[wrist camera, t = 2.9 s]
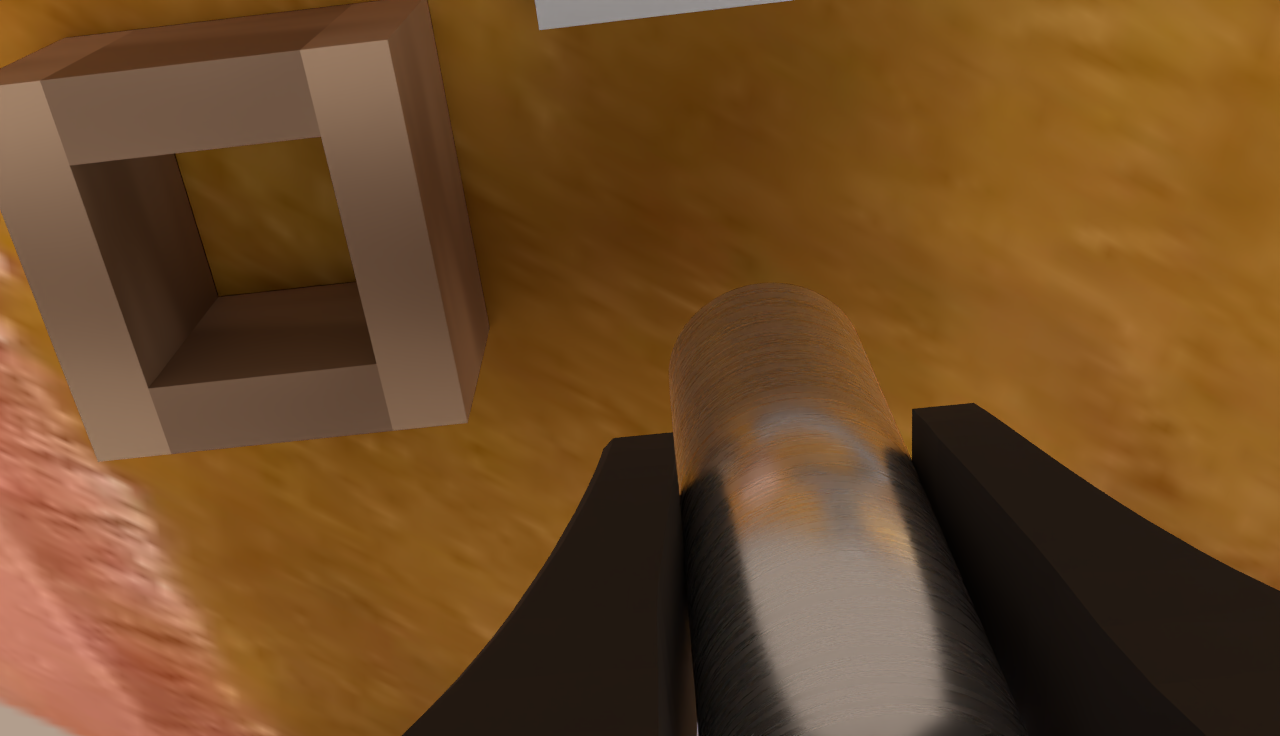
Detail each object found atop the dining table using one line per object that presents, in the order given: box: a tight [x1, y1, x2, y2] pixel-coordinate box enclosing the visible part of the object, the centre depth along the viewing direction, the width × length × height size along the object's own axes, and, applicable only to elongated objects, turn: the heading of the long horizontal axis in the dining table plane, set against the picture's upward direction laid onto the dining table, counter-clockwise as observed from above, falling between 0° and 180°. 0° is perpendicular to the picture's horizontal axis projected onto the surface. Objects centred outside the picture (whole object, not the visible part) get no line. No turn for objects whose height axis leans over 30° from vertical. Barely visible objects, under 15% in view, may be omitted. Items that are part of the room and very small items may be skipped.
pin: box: [669, 283, 1029, 736], centre depth 11 cm, size 2×2×7 cm
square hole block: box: [0, 0, 489, 462], centre depth 18 cm, size 6×6×4 cm
